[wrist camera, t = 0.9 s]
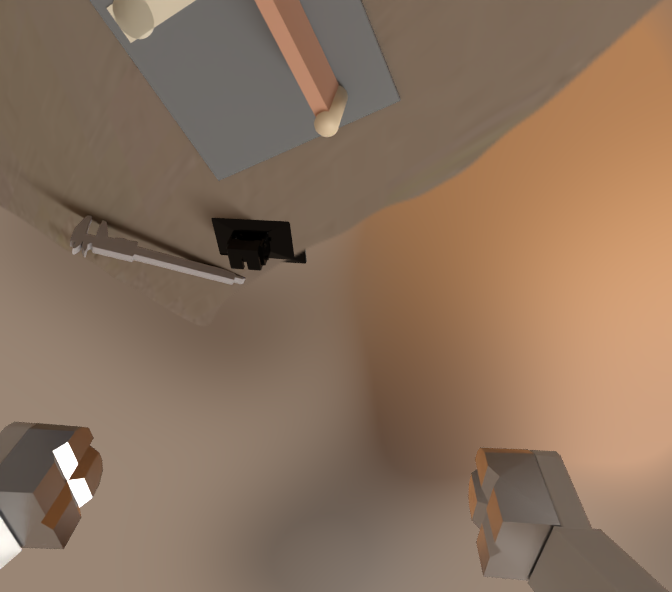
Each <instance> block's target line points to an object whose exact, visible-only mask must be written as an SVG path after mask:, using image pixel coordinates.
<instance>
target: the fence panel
mask: <svg viewBox="0 0 672 592" xmlns="http://www.w3.org/2000/svg"><path fill="white" fill-rule="evenodd" d="M255 2H256V4H257V6H258V8H259V10H260V12H261V14H262V15H263V17H264V19H265V21H266V23H267V25H268V27H269V29H270V31H271V33H272V35H273V37H274V38H275V40H276V42H277V44H278V46H279V48H280V50H281V52H282V54H283V56H284V58H285V60H286V61H287V63H288V65H289V67H290V69H291V71H292V73H293V75H294V77H295V79H296V81H297V82H298V84H299V86H300V88H301V90H302V92H303V94H304V96H305V98H306V100H307V102H308V104H309V105H310V107H311V109H312V111H313V113H314V115H315V117H316V118H315V121H314V127H315V130H316V131H317V133H318V134H320V135H321V136H324V137H331V136H333V135H334V134H335V133H336V132H337V130H338V128H339V125H340V121H341V118H342V115H343V112H344V109H345V106H346V103H347V99H348V94H347V91H346V90H345V89H344V88H343V87H342V86H340V85H339V84H338V82H337V80H336V78H335V75H334V73H333V71H332V69H331V67H330V65H329V63H328V61H327V58H326V56H325V54H324V52H323V50H322V48H321V46H320V44H319V41H318V39H317V37H316V35H315V33H314V31H313V29H312V27H311V24H310V22H309V20H308V18H307V16H306V14H305V12H304V10H303V7H302V5H301V3H300V1H299V0H255Z"/></svg>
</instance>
